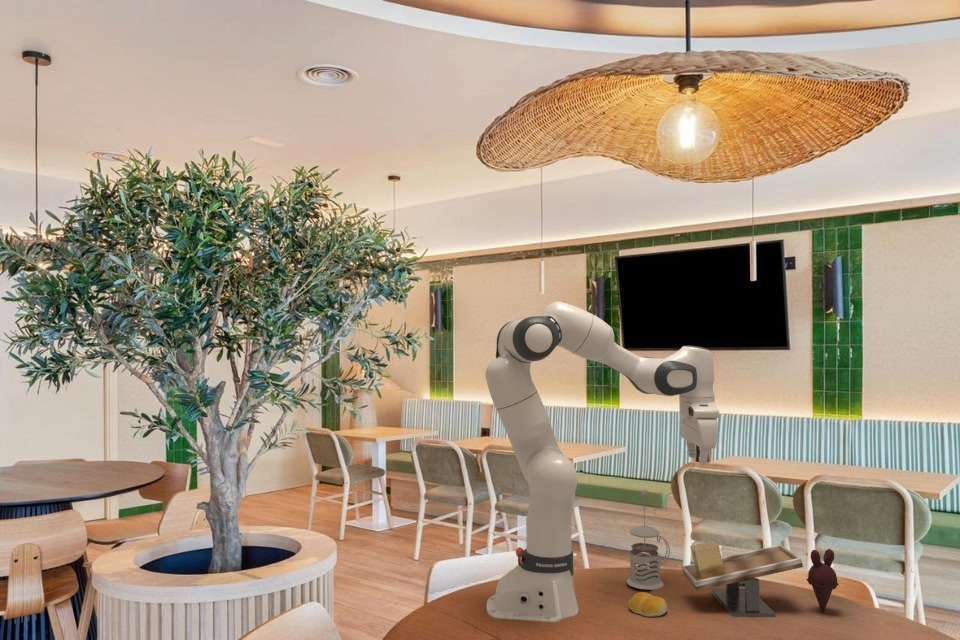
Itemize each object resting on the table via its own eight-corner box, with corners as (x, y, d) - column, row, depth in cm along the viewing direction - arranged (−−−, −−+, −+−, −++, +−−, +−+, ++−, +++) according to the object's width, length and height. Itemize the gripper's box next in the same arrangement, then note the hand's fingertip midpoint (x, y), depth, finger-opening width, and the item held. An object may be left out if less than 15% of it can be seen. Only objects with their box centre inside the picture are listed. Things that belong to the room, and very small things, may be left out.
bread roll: (653, 620, 163) (652, 603, 163) (623, 611, 170) (622, 594, 170) (675, 610, 168) (674, 593, 169) (645, 601, 175) (644, 585, 175)
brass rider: (701, 578, 172) (694, 550, 172) (696, 573, 176) (690, 545, 176) (725, 573, 172) (718, 545, 172) (719, 568, 176) (713, 540, 176)
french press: (621, 577, 194) (621, 486, 194) (662, 575, 195) (661, 485, 195) (633, 590, 184) (632, 494, 184) (675, 588, 185) (675, 493, 186)
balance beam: (698, 596, 168) (695, 582, 168) (684, 579, 179) (681, 566, 180) (804, 572, 168) (801, 558, 168) (783, 556, 179) (780, 544, 179)
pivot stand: (733, 618, 166) (732, 580, 166) (711, 593, 181) (711, 559, 182) (775, 618, 165) (775, 580, 166) (750, 593, 181) (749, 559, 182)
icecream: (827, 605, 173) (826, 544, 174) (846, 617, 166) (845, 553, 166) (800, 606, 172) (799, 545, 173) (818, 618, 165) (817, 554, 165)
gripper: (674, 403, 194) (674, 453, 194) (696, 411, 173) (696, 467, 173) (697, 403, 194) (697, 453, 194) (721, 411, 173) (722, 467, 173)
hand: (697, 460), depth 183 cm, fingers open, 8 cm apart
